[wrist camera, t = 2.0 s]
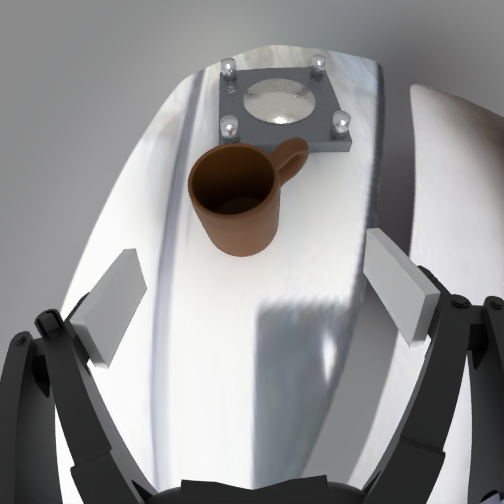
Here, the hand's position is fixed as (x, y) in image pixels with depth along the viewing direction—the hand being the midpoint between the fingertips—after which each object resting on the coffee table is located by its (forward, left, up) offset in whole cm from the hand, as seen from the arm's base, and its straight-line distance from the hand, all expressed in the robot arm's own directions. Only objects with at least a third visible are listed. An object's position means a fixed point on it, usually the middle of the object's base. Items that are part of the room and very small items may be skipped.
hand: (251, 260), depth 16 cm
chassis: (-5, -25, -13) cm, 29 cm away
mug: (-1, -9, -14) cm, 17 cm away
